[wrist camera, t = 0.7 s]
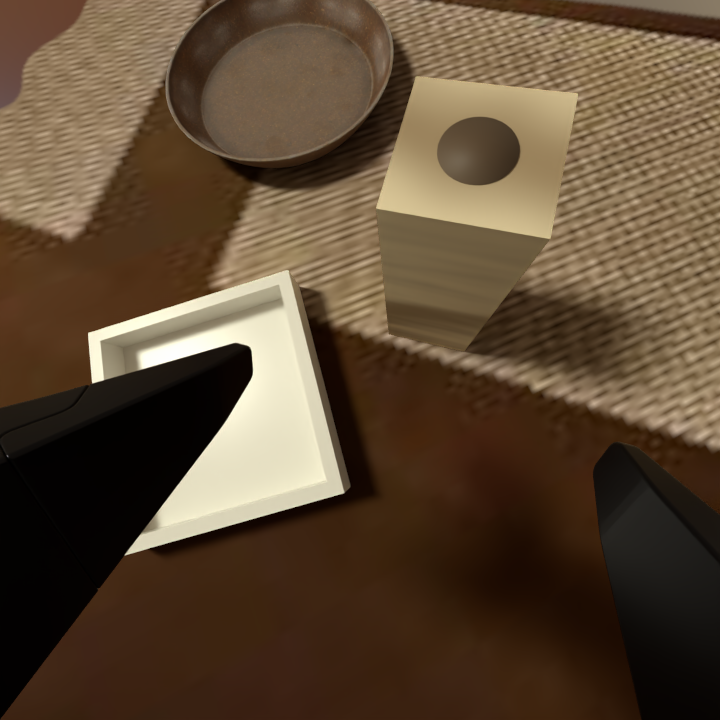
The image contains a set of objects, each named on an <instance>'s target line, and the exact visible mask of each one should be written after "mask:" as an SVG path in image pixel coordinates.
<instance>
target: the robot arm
mask: <svg viewBox="0 0 720 720" xmlns="http://www.w3.org/2000/svg"><path fill="white" fill-rule="evenodd" d="M252 376H253V362H252V351H251V348H250V347H249V346H247V345H244V344H240V343H232V344H228V345H225V346H221V347H218V348H214V349H211V350H207V351H204V352H200V353H197V354H193V355H190V356H186V357H183V358H179V359H176V360H172V361H169V362H165V363H162V364H158V365H155V366H151V367H148V368H144V369H141V370H137V371H134V372H130V373H127V374H123V375H120V376H117V377H113V378H110V379H106V380H103V381H99V382H96V383H92V384H90V386H88V385H85V386H81V387H78V388H74V389H71V390H67V391H64V392H60V393H56V394H53V395H49V396H45V397H42V398H38V399H34V400H30V401H26V402H22V403H18V404H14V405H10V406H5V407H1V408H0V719H1V717H2V716H3V715H4V714H5V712H6V711H7V710H8V708H9V707H10V706H11V704H12V703H13V702H14V700H15V699H16V698H17V696H18V695H19V694H20V692H21V691H22V690H23V689H24V687H25V686H26V685H27V683H28V682H29V681H30V679H31V678H32V677H33V675H34V674H35V673H36V671H37V670H38V669H39V668H40V666H41V665H42V664H43V662H44V661H45V660H46V658H47V657H48V656H49V654H50V653H51V652H52V650H53V649H54V648H55V646H56V645H57V644H58V643H59V641H60V640H61V639H62V637H63V636H64V635H65V633H66V632H67V631H68V629H69V628H70V627H71V625H72V624H73V623H74V622H75V620H76V619H77V618H78V616H79V615H80V614H81V612H82V611H83V610H84V608H85V607H86V606H87V604H88V603H89V602H90V600H91V599H92V598H93V597H94V595H95V594H96V593H97V591H98V588H100V587H101V586H102V584H103V583H104V582H105V580H106V579H107V578H108V576H109V575H110V574H111V572H112V571H113V570H114V568H115V567H116V566H117V565H118V563H119V562H120V561H121V559H122V558H123V557H124V555H125V554H126V553H127V551H128V550H129V549H130V547H131V546H132V545H133V544H134V542H135V541H136V540H137V538H138V537H139V536H140V534H141V533H142V532H143V530H144V529H145V528H146V526H147V525H148V524H149V522H150V521H151V520H152V519H153V517H154V516H155V515H156V513H157V512H158V511H159V509H160V508H161V507H162V505H163V504H164V503H165V501H166V500H167V499H168V497H169V496H170V495H171V494H172V492H173V491H174V490H175V488H176V487H177V486H178V484H179V483H180V482H181V480H182V479H183V478H184V476H185V475H186V474H187V472H188V471H189V470H190V469H191V467H192V466H193V465H194V463H195V462H196V461H197V459H198V458H199V457H200V455H201V454H202V453H203V451H204V450H205V449H206V447H207V446H208V445H209V444H210V442H211V441H212V440H213V438H214V437H215V436H216V434H217V433H218V432H219V430H220V429H221V428H222V426H223V425H224V423H225V422H226V420H227V419H228V417H229V416H230V414H231V412H232V411H233V409H234V407H235V406H236V404H237V402H238V401H239V399H240V397H241V396H242V394H243V392H244V391H245V389H246V387H247V386H248V384H249V382H250V381H251V378H252ZM593 479H594V488H595V497H596V506H597V515H598V525H599V532H600V539H601V544H602V549H603V553H604V557H605V562H606V566H607V571H608V575H609V579H610V584H611V588H612V592H613V597H614V601H615V605H616V610H617V614H618V619H619V623H620V627H621V632H622V636H623V640H624V645H625V649H626V653H627V658H628V662H629V667H630V671H631V675H632V680H633V684H634V688H635V693H636V697H637V702H638V706H639V710H640V715H641V719H642V720H720V515H719V514H718V513H717V512H716V511H714V510H713V509H712V508H711V507H709V506H708V505H707V504H706V503H705V502H703V501H702V500H701V499H700V498H699V497H697V496H696V495H695V494H694V493H692V492H691V491H690V490H689V489H688V488H686V487H685V486H684V485H683V484H682V483H680V482H679V481H678V480H677V479H676V478H674V477H673V476H672V475H671V474H669V473H668V472H667V471H666V470H665V469H663V468H662V467H661V466H660V465H659V464H657V463H656V462H655V461H654V460H652V459H651V458H650V457H649V456H648V455H646V454H645V453H644V452H643V451H642V450H640V449H639V448H638V447H636V446H633V445H629V444H625V443H621V442H614V443H612V444H611V445H610V446H609V447H608V449H607V450H606V451H605V453H604V454H603V455H602V457H601V458H600V459H599V461H598V462H597V463H596V465H595V467H594V470H593Z"/></svg>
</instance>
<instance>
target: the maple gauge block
mask: <svg viewBox="0 0 720 720" xmlns="http://www.w3.org/2000/svg"><path fill="white" fill-rule="evenodd" d="M577 97H578V94H577V93H568V92H558V91H549V90H540V89H530V88H521V87H511V86H502V85H493V84H483V83H474V82H465V81H455V80H446V79H437V78H427V77H418V76H416V78H415V82H414V85H413V88H412V91H411V95H410V98H409V101H408V105H407V108H406V111H405V115H404V118H403V121H402V125H401V128H400V131H399V134H398V138H397V141H396V144H395V148H394V151H393V154H392V158H391V161H390V164H389V168H388V171H387V174H386V177H385V181H384V184H383V187H382V191H381V194H380V197H379V201H378V204H377V207H376V212H377V222H378V232H379V242H380V252H381V262H382V271H383V281H384V291H385V301H386V311H387V320H388V330H389V334H391V335H395V336H399V337H404V338H408V339H412V340H416V341H421V342H425V343H429V344H433V345H437V346H442V347H446V348H450V349H454V350H459V351H463V352H464V351H465V350H466V348H467V347H468V346H469V344H470V343H471V342H472V340H473V339H474V338H475V337H476V335H477V334H478V333H479V331H480V330H481V329H482V327H483V326H484V325H485V323H486V322H487V321H488V320H489V318H490V317H491V316H492V314H493V313H494V312H495V310H496V309H497V308H498V307H499V305H500V304H501V303H502V301H503V300H504V299H505V297H506V296H507V295H508V293H509V292H510V291H511V290H512V288H513V287H514V286H515V284H516V283H517V282H518V280H519V279H520V278H521V277H522V275H523V274H524V273H525V271H526V270H527V269H528V267H529V266H530V265H531V263H532V262H533V261H534V260H535V258H536V257H537V256H538V254H539V253H540V252H541V250H542V249H543V248H544V247H545V245H546V244H547V243H548V241H549V240H550V238H551V232H552V227H553V222H554V217H555V212H556V206H557V201H558V196H559V191H560V186H561V180H562V175H563V170H564V165H565V160H566V155H567V149H568V144H569V139H570V134H571V129H572V123H573V118H574V113H575V108H576V103H577Z"/></svg>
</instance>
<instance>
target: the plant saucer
mask: <svg viewBox="0 0 720 720" xmlns="http://www.w3.org/2000/svg"><path fill="white" fill-rule="evenodd" d="M393 57H394V48H393V40H392V35H391V32H390V29H389V27H388V24H387V22H386V20H385V18H384V17H383V15H382V14H381V12H380V11H379V10H378V8H377V7H376V6H375V5H374V4H373V3H372V2H371V1H369V0H221V1H219V2H218V3H216V4H215V5H213V6H212V7H210V8H209V9H208V10H207V11H205V12H204V13H203V14H202V15H201V16H200V17H199V18H198V19H197V20H196V21H195V22H194V23H193V24H192V25H191V26H190V27H189V29H188V30H187V31H186V32H185V33H184V35H183V36H182V38H181V39H180V41H179V43H178V44H177V46H176V48H175V50H174V52H173V55H172V56H171V59H170V62H169V66H168V70H167V76H166V97H167V102H168V106H169V109H170V112H171V114H172V116H173V118H174V120H175V122H176V123H177V125H178V126H179V128H180V129H181V130H182V131H183V132H184V134H185V135H186V136H187V137H189V138H190V139H191V140H192V141H193V142H195V143H196V144H198V145H199V146H201V147H202V148H204V149H206V150H208V151H209V152H211V153H213V154H215V155H217V156H220V157H222V158H225V159H227V160H230V161H233V162H236V163H240V164H244V165H249V166H254V167H263V168H284V167H292V166H296V165H301V164H304V163H308V162H310V161H313V160H315V159H318V158H320V157H322V156H324V155H326V154H328V153H329V152H331V151H333V150H334V149H336V148H337V147H339V146H340V145H341V144H342V143H344V142H345V141H346V140H347V139H348V138H349V137H350V136H352V135H353V134H354V133H355V132H356V131H357V129H358V128H359V127H360V126H361V125H362V124H363V123H364V121H365V120H366V119H367V118H368V116H369V115H370V114H371V112H372V111H373V109H374V108H375V106H376V105H377V103H378V101H379V100H380V98H381V96H382V94H383V92H384V90H385V88H386V86H387V83H388V81H389V78H390V75H391V71H392V66H393Z"/></svg>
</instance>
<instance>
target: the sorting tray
mask: <svg viewBox="0 0 720 720" xmlns="http://www.w3.org/2000/svg"><path fill="white" fill-rule="evenodd" d="M88 339H89V350H90V362H91V374H92V383H96V382H99V381H103V380H106V379H110V378H113V377H117V376H120V375H123V374H127V373H130V372H134V371H137V370H141V369H144V368H148V367H151V366H155V365H158V364H162V363H165V362H169V361H172V360H176V359H179V358H183V357H186V356H190V355H193V354H197V353H200V352H204V351H207V350H211V349H214V348H218V347H221V346H225V345H228V344H232V343H240V344H244V345H247V346H249V347H250V348H251V351H252V362H253V376H252V378H251V381H250V382H249V384H248V386H247V387H246V389H245V391H244V392H243V394H242V396H241V397H240V399H239V401H238V402H237V404H236V406H235V407H234V409H233V411H232V412H231V414H230V416H229V417H228V419H227V420H226V422H225V423H224V425H223V426H222V428H221V429H220V430H219V432H218V433H217V434H216V436H215V437H214V438H213V440H212V441H211V442H210V444H209V445H208V446H207V447H206V449H205V450H204V451H203V453H202V454H201V455H200V457H199V458H198V459H197V461H196V462H195V463H194V465H193V466H192V467H191V469H190V470H189V471H188V472H187V474H186V475H185V476H184V478H183V479H182V480H181V482H180V483H179V484H178V486H177V487H176V488H175V490H174V491H173V492H172V494H171V495H170V496H169V497H168V499H167V500H166V501H165V503H164V504H163V505H162V507H161V508H160V509H159V511H158V512H157V513H156V515H155V516H154V517H153V519H152V520H151V521H150V522H149V524H148V525H147V526H146V528H145V529H144V530H143V532H142V533H141V534H140V536H139V537H138V538H137V540H136V541H135V542H134V544H133V545H132V546H131V547H130V549H129V550H128V551H127V553H126V554H125V555H127V554H131V553H134V552H138V551H142V550H145V549H149V548H152V547H156V546H159V545H163V544H166V543H170V542H173V541H177V540H180V539H184V538H188V537H191V536H195V535H198V534H202V533H205V532H209V531H212V530H216V529H219V528H223V527H226V526H230V525H233V524H237V523H241V522H244V521H248V520H251V519H255V518H258V517H262V516H265V515H269V514H272V513H276V512H279V511H283V510H287V509H290V508H294V507H297V506H301V505H304V504H308V503H311V502H315V501H318V500H322V499H325V498H329V497H333V496H336V495H340V494H343V493H345V492H346V491H347V490H348V489H349V488H350V487H351V486H350V482H349V478H348V474H347V470H346V466H345V462H344V458H343V455H342V451H341V447H340V443H339V439H338V435H337V431H336V427H335V423H334V420H333V416H332V412H331V408H330V404H329V400H328V396H327V392H326V388H325V385H324V381H323V377H322V373H321V369H320V365H319V361H318V357H317V353H316V350H315V346H314V342H313V338H312V334H311V330H310V326H309V322H308V318H307V315H306V311H305V307H304V303H303V299H302V295H301V291H300V287H299V285H298V284H297V282H296V281H295V279H294V278H293V276H292V275H291V273H290V272H289V270H286V271H283V272H280V273H277V274H273V275H270V276H267V277H264V278H261V279H258V280H254V281H251V282H248V283H245V284H242V285H239V286H236V287H232V288H229V289H226V290H223V291H220V292H217V293H213V294H210V295H207V296H204V297H201V298H198V299H194V300H191V301H188V302H185V303H182V304H179V305H176V306H172V307H169V308H166V309H163V310H160V311H157V312H153V313H150V314H147V315H144V316H141V317H138V318H135V319H131V320H128V321H125V322H122V323H119V324H116V325H112V326H109V327H106V328H103V329H100V330H97V331H93V332H90V333H88Z"/></svg>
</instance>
